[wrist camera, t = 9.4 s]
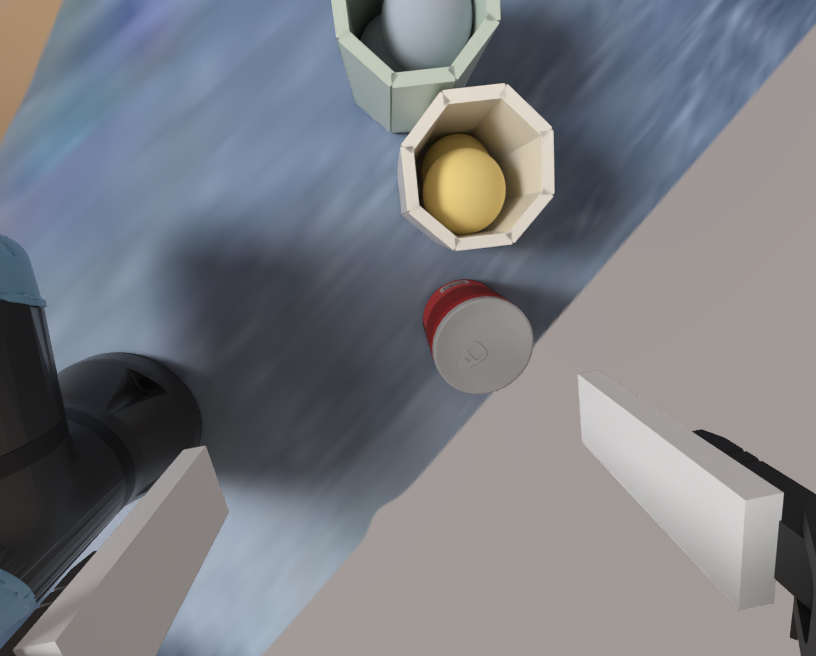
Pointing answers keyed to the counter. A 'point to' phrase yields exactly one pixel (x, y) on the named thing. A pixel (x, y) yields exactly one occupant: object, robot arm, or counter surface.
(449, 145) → the cream ball
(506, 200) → the crock cream
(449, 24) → the blue-grey ball
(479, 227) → the ball loose
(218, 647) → the counter surface
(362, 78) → the crock sage
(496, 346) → the canned food
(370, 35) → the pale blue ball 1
